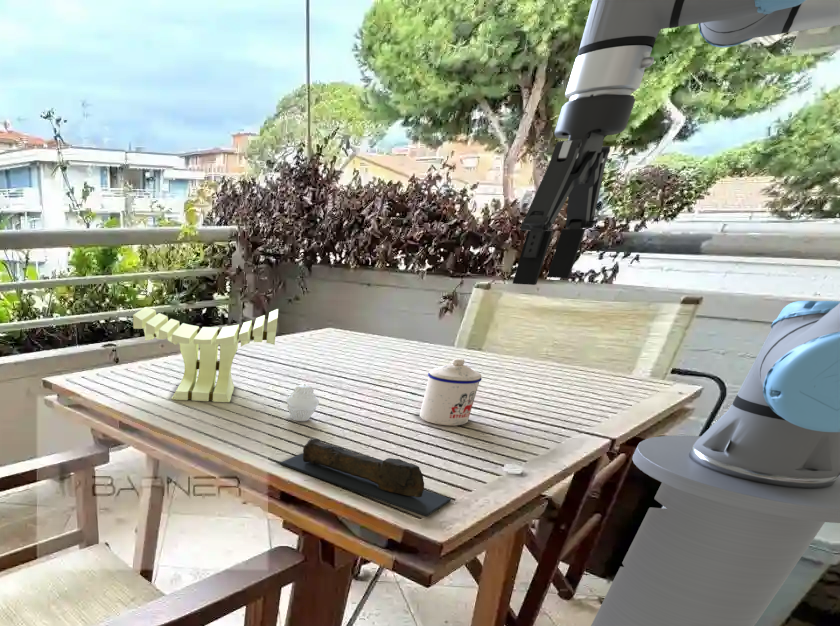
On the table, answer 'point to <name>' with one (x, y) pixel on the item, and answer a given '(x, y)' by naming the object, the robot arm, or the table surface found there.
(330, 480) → the edge strip
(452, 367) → the teacup with lid
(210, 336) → the slatted curved stool
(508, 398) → the table surface
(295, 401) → the white ribbed jar
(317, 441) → the hand tool
